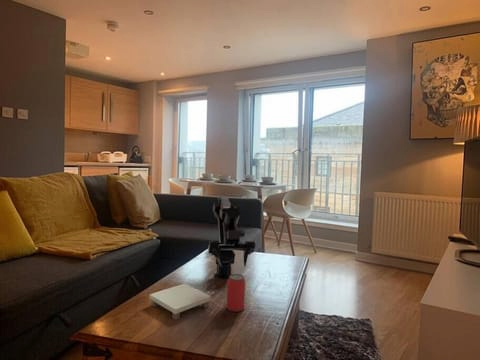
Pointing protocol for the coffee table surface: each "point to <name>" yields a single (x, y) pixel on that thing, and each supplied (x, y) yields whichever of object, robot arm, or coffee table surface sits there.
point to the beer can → (235, 292)
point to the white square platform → (179, 299)
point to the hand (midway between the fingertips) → (233, 266)
